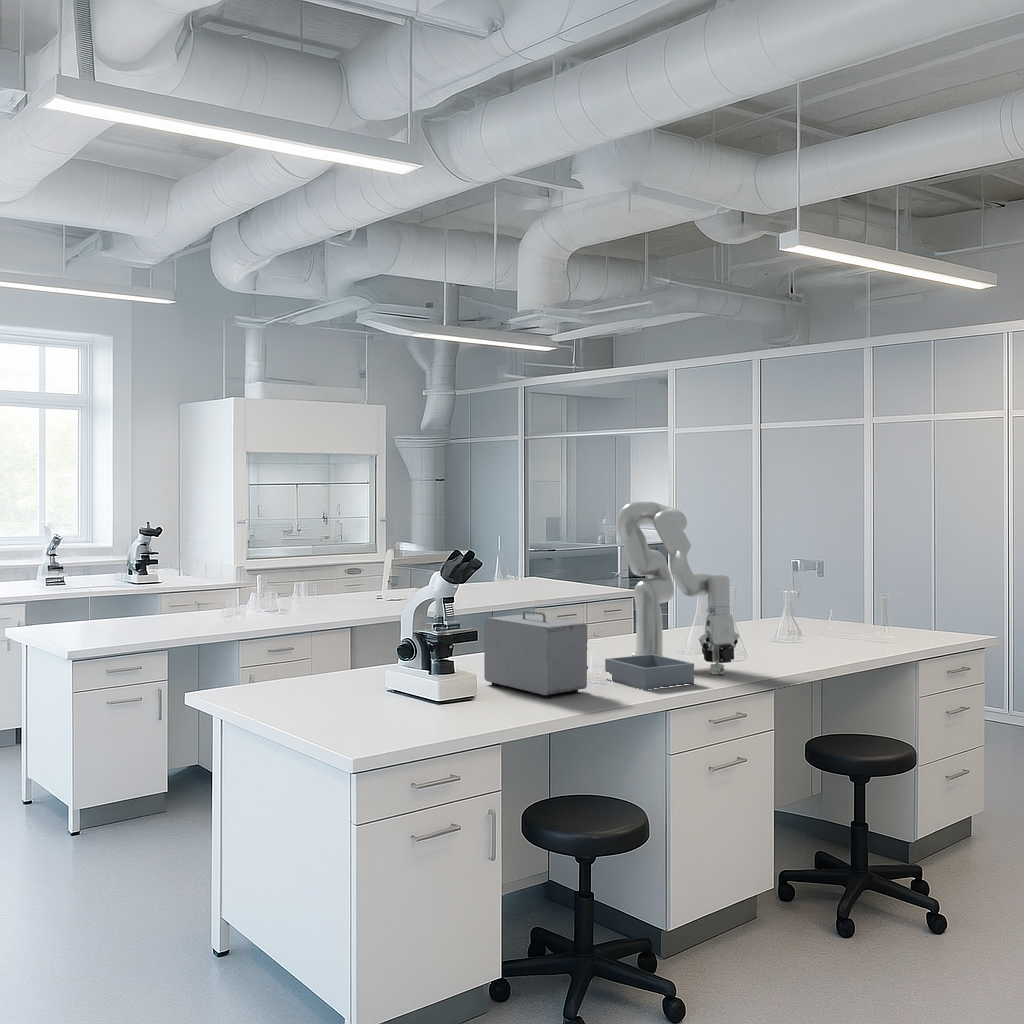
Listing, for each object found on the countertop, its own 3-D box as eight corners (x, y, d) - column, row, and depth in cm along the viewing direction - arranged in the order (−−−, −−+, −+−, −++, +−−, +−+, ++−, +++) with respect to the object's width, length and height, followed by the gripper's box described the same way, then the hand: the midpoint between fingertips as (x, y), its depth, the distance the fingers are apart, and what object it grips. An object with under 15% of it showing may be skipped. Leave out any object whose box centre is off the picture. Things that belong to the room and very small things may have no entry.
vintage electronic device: (591, 692, 307) (591, 613, 307) (547, 700, 296) (548, 618, 296) (526, 678, 332) (527, 604, 332) (484, 684, 321) (484, 608, 320)
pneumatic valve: (722, 677, 333) (723, 642, 333) (701, 672, 344) (701, 638, 343) (735, 676, 336) (735, 641, 336) (713, 670, 346) (713, 637, 346)
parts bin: (605, 679, 330) (605, 658, 329) (652, 674, 339) (652, 654, 339) (645, 690, 310) (645, 668, 310) (694, 684, 320) (694, 663, 320)
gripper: (706, 613, 332) (707, 664, 332) (745, 610, 340) (746, 659, 340) (692, 611, 338) (693, 661, 338) (730, 608, 347) (731, 656, 347)
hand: (719, 660), depth 339 cm, fingers open, 9 cm apart
